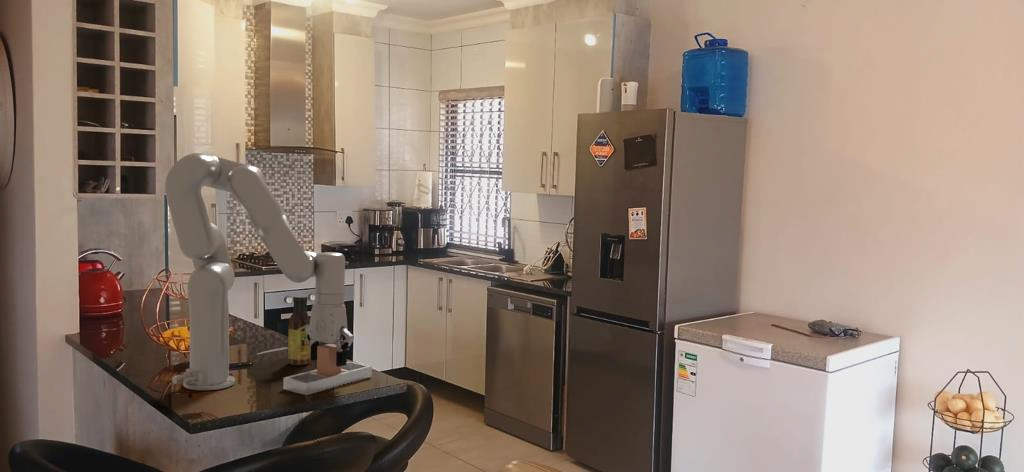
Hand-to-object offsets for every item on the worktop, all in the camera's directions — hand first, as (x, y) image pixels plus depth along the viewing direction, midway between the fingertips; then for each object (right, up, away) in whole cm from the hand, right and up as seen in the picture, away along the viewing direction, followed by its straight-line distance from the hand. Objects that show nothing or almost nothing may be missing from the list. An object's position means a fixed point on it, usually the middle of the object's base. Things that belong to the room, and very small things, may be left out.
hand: (328, 362), depth 211 cm
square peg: (0, -6, 0) cm, 6 cm away
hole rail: (0, -6, 0) cm, 6 cm away
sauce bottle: (-13, -4, +20) cm, 24 cm away
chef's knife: (-24, -2, +37) cm, 44 cm away
